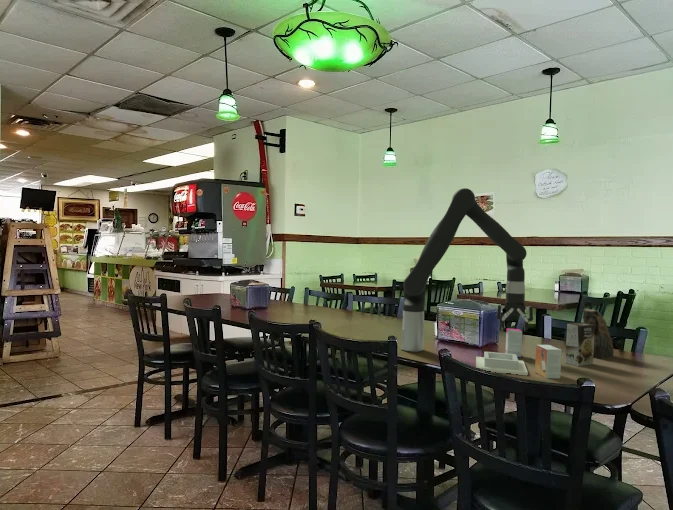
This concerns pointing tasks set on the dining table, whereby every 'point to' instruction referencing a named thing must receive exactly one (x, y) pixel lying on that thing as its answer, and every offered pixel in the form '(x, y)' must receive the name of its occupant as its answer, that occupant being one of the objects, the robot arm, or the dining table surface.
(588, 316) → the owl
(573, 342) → the coffee box
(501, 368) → the collar socket
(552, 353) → the small box
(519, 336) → the supplement box
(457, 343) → the dining table surface
